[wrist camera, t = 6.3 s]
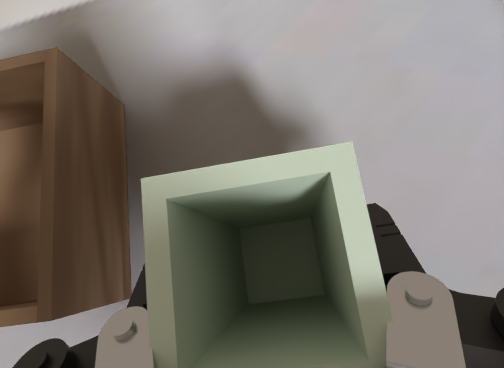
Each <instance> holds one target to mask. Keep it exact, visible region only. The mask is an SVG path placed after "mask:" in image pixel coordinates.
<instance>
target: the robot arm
mask: <svg viewBox="0 0 504 368" xmlns="http://www.w3.org/2000/svg"><path fill="white" fill-rule="evenodd" d="M367 209H368V213H369V218H370V222H371V226H372V231H373V235H374V240H375V244H376V249H377V253H378V257H379V262H380V266H381V271H382V275H383V279H384V284H385V288H386V293H387V297H388V301H389V306H390V310H391V315H392V319H393V322H390V323H387V326H386V368H504V288H503V289H501V290H500V291H499V292H498V294H497V296H496V298H492V297H485V296H478V295H471V294H464V293H459V292H456V291H452V290H450V289H448V288H447V287H446V286H445V285H444V284H443V283H442V282H441V281H439V280H438V279H436V278H434V277H433V276H430V275H428V274H426V272H425V271H424V269H423V268H422V266H421V265H420V263H419V261H418V260H417V258H416V257H415V255H414V253H413V252H412V250H411V248H410V247H409V245H408V244H407V242H406V240H405V239H404V237H403V235H401V233H400V231H399V229H398V227H397V226H396V225H395V223H394V221H393V219H392V218H391V216H390V214H389V213H388V212H387V211H386V210H385V209H383V208H382V207H380V206H379V205H377V204H376V203H374V204H367ZM13 368H157V364H156V360H155V357H154V353H153V350H152V349H149V335H148V315H147V294H146V274H145V264H144V266H143V271H141V274H140V276H139V278H138V281H137V283H136V286H135V288H134V291H133V293H132V296H131V298H130V301H129V303H128V305H127V308H126V309H124V310H121V311H120V312H118V313H116V314H115V315H114V316H112V317H111V318H110V319H109V320H108V321H107V322H106V324H105V325H104V326H103V328H102V330H101V332H100V334H99V335H98V336H96V337H94V338H92V339H89V340H87V341H84V342H82V343H80V344H77V345H75V346H73V347H69V346H68V345H67V344H66V343H65V342H64V341H63V340H61V339H56V338H54V339H49V340H46V341H43V342H41V343H39V344H38V345H36V346H34V347H33V348H31V349H30V350H29V351H28V352H26V353H25V354H24V355H23V356H22V357H21V358H20V359H19V361H18V362H17V363H16V364H15V365H14V367H13Z"/></svg>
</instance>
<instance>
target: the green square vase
mask: <svg viewBox="0 0 504 368" xmlns="http://www.w3.org/2000/svg"><path fill="white" fill-rule="evenodd" d="M141 192H142V212H143V233H144V253H145V274H146V294H147V315H148V335H149V349H152V350H153V353H154V357H155V360H156V364H157V368H386V326H387V323H390V322H393V319H392V315H391V310H390V306H389V301H388V297H387V293H386V288H385V284H384V279H383V275H382V271H381V266H380V262H379V257H378V253H377V249H376V244H375V240H374V235H373V231H372V226H371V222H370V218H369V213H368V209H367V204H366V200H365V196H364V191H363V187H362V182H361V178H360V174H359V169H358V165H357V160H356V156H355V152H354V147H353V143H352V142H346V143H341V144H335V145H329V146H323V147H318V148H312V149H306V150H300V151H295V152H289V153H283V154H277V155H272V156H266V157H260V158H254V159H249V160H243V161H237V162H232V163H226V164H220V165H214V166H209V167H203V168H197V169H191V170H186V171H180V172H174V173H168V174H163V175H157V176H151V177H146V178H141Z"/></svg>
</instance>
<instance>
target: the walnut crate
mask: <svg viewBox="0 0 504 368" xmlns="http://www.w3.org/2000/svg"><path fill="white" fill-rule="evenodd" d="M130 298H131V272H130V246H129V220H128V193H127V167H126V141H125V115H124V105H123V104H122V103H121V102H120V101H119V100H118V99H116V98H115V97H114V96H113V95H112V94H111V93H109V92H108V91H107V90H106V89H105V88H104V87H102V86H101V85H100V84H99V83H98V82H97V81H95V80H94V79H93V78H92V77H91V76H90V75H88V74H87V73H86V72H85V71H84V70H83V69H81V68H80V67H79V66H78V65H77V64H75V63H74V62H73V61H72V60H71V59H70V58H68V57H67V56H66V55H65V54H64V53H63V52H61V51H60V50H59V49H58V48H52V49H48V50H43V51H39V52H35V53H30V54H26V55H21V56H17V57H13V58H8V59H4V60H0V327H5V326H13V325H21V324H29V323H37V322H45V321H52V320H55V319H59V318H62V317H66V316H70V315H73V314H77V313H80V312H84V311H87V310H91V309H94V308H98V307H101V306H105V305H109V304H112V303H116V302H119V301H123V300H126V299H130Z"/></svg>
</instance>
